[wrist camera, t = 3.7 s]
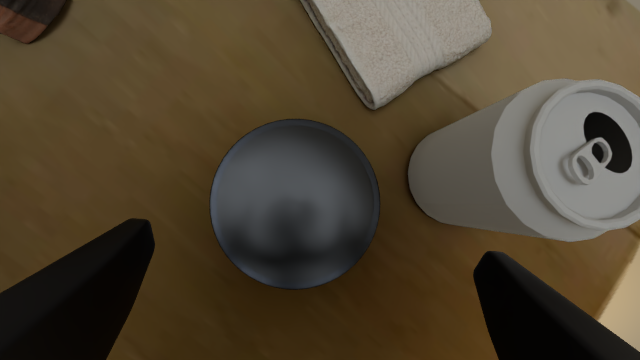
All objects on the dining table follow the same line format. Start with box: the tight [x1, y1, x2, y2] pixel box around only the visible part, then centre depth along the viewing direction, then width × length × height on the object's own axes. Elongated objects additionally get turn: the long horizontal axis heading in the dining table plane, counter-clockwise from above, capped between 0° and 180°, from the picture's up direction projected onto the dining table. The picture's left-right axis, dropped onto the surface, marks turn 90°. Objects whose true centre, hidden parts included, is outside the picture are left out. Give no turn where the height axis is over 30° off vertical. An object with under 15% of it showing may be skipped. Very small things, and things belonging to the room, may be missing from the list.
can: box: [408, 79, 640, 242], centre depth 18 cm, size 8×8×12 cm
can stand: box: [210, 119, 380, 290], centre depth 21 cm, size 12×12×3 cm
